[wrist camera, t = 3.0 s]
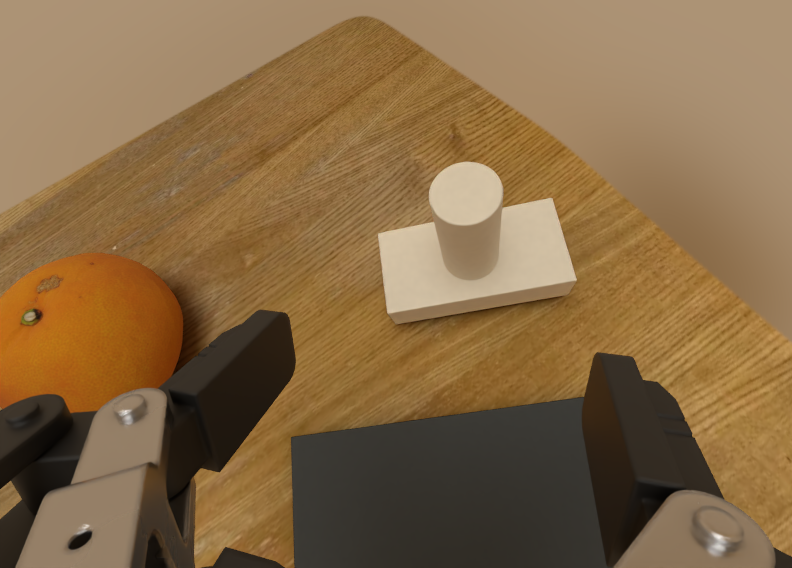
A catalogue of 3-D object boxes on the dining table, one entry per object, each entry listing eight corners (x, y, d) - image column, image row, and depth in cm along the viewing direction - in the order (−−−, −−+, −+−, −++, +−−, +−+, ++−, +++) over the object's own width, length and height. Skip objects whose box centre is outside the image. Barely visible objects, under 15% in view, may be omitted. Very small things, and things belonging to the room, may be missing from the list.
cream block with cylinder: (544, 223, 26) (575, 115, 17) (566, 298, 24) (613, 221, 15) (388, 254, 27) (343, 169, 18) (398, 327, 25) (352, 271, 17)
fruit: (228, 285, 29) (140, 234, 22) (179, 445, 26) (56, 449, 18) (108, 272, 31) (-7, 222, 24) (50, 416, 28) (-104, 409, 21)
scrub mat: (614, 393, 22) (616, 392, 22) (720, 745, 17) (725, 752, 16) (293, 437, 24) (290, 437, 24) (302, 753, 19) (299, 760, 19)
